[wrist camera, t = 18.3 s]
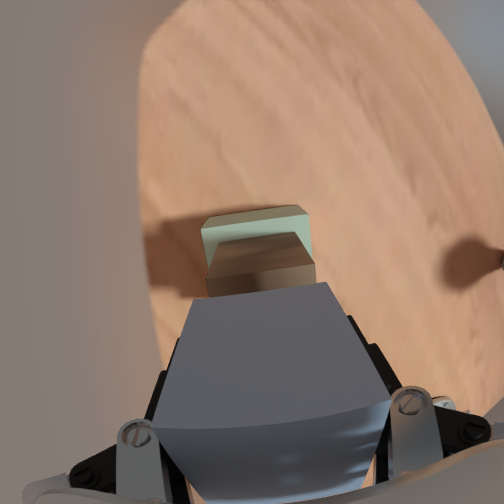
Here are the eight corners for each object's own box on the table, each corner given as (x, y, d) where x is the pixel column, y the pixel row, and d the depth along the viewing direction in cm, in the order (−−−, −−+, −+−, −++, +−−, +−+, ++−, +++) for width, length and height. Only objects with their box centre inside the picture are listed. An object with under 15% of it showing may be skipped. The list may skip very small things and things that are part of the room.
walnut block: (295, 231, 18) (314, 263, 13) (301, 299, 20) (319, 350, 14) (218, 242, 19) (205, 278, 13) (231, 309, 20) (225, 363, 14)
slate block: (326, 281, 10) (391, 399, 5) (326, 378, 12) (360, 488, 6) (193, 299, 11) (150, 427, 5) (219, 391, 12) (208, 505, 6)
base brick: (298, 204, 22) (308, 214, 18) (305, 286, 24) (315, 309, 20) (208, 217, 22) (200, 229, 18) (224, 297, 24) (219, 322, 20)
